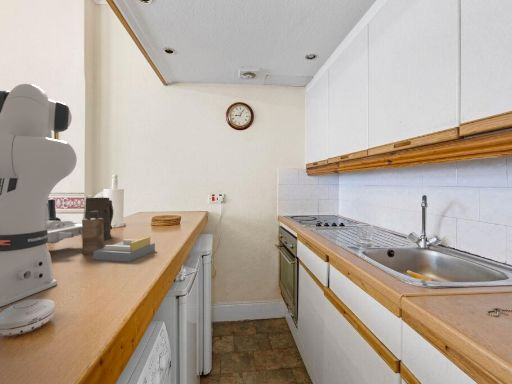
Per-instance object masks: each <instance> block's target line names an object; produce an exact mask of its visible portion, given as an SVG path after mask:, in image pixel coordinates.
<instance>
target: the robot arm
mask: <svg viewBox="0 0 512 384" xmlns="http://www.w3.org/2000/svg"><path fill="white" fill-rule="evenodd" d="M71 122H72V112H71V110H70V106H68V104H66V103H63V102H62V101H61V102H60V101H58V100H56V101H55V100H52V99H49V97H48V94H47V93H46V92H45V91H44V89H42V88H41V87H39V86H36V85H34V84H31V83H21V84H18V85H16V86H14V87H13V88H12V89H11V90H10V91H9V90H0V308H1V307H3V306H6V305H9V304H11V303H14V302H17V301H19V300H22V299H25V298H27V297H29V296H31V295H35V294H37V293H39V292H42V291H44V290H47V289H50V288H52V287H54V286H57V285H58V282H57V281H58V280H57V279H55V278H54V270H53V264H52V257H51V253H50V251H49V249H48V246H47V244H57V243H59V242H60V241H62V240H65V239H72V238H74V237H77V236H78V237H79V236H81V235H82V222H73V221H71V220H67V221H66V220H64V221H61V220H50V219H51V216H50V214H51V209H50V206H49V204H48V199H49V196H50V195H51V192H52V191H53V189H54V187H56V185H58V183H60V182H61V181H62V180H64V179H65V178H66V177H68V176H69V175H70V174H72V172H74V170H75V168H76V165H77V160H78V159H77V154H76V152H75V150H74V148H73V146H72V145H71V144H70V143H69V142H67V141H64V140H60V139H55V138H53V134H52V133H53V132H54V134H58V133H62V132H65V131H67V130H68V129H69V127H70V125H71ZM52 131H53V132H52Z"/></svg>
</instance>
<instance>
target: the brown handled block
mask: <svg viewBox="0 0 512 384" xmlns="http://www.w3.org/2000/svg"><path fill="white" fill-rule="evenodd" d="M98 213H99V212H98V211H90V212H88V213H87V219H83V218H82V219H81V223H82V236H81V237H82V255H88V256H89V255H90V256H94V251H95V250H98V249H101V248H105V240H104V221H103V218H99V215H98ZM92 214H95V218H91V215H92Z"/></svg>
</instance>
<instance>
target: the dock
mask: <svg viewBox="0 0 512 384" xmlns="http://www.w3.org/2000/svg"><path fill="white" fill-rule="evenodd" d="M153 252H156V243H155V242H151V236H146V237H144V238H143V237H142V238H140V239H127V238H125V239H122V241H120V242H118V243H117V242H116V243H114V244H104V248H101V249H98V250H95V251H94V255H93V260H97V261H112V262H127V263H130V262H133V261H135V260H137V259H140V258H142V257H144V256H147V255H148V254H151V253H153Z"/></svg>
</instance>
